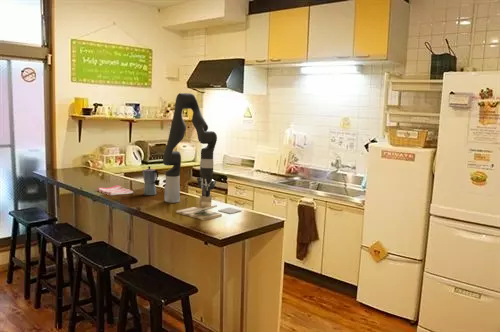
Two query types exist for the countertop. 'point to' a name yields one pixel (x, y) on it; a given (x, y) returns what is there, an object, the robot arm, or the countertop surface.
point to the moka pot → (150, 181)
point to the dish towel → (115, 191)
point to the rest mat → (230, 210)
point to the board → (200, 215)
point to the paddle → (204, 199)
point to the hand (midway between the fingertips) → (205, 196)
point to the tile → (205, 209)
